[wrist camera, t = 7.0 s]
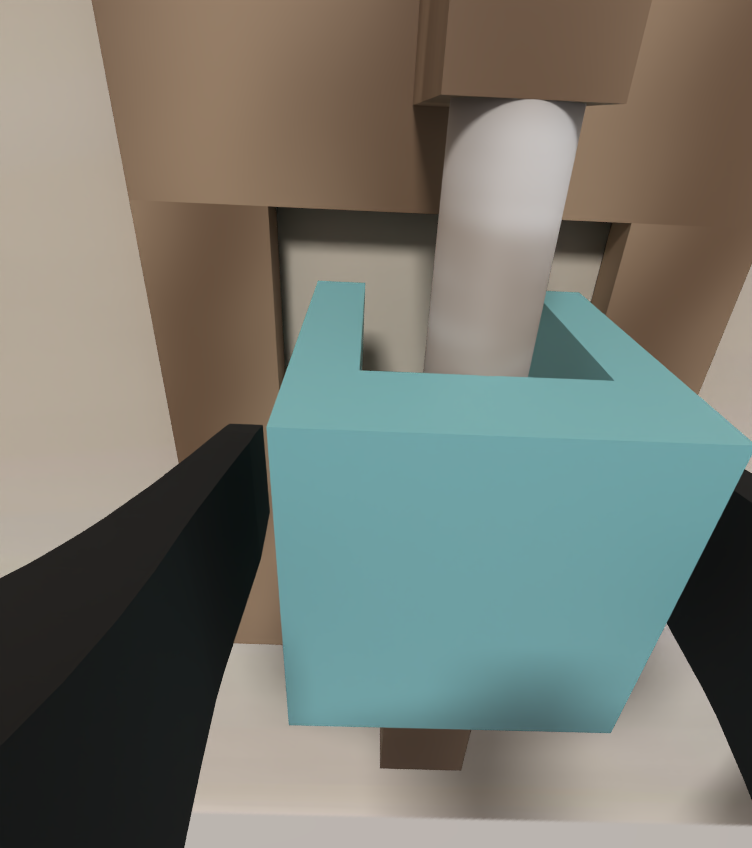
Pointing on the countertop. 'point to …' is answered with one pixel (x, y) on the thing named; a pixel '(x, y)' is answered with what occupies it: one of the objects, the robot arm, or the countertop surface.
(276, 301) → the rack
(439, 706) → the teal notched block
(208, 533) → the robot arm
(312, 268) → the countertop surface
